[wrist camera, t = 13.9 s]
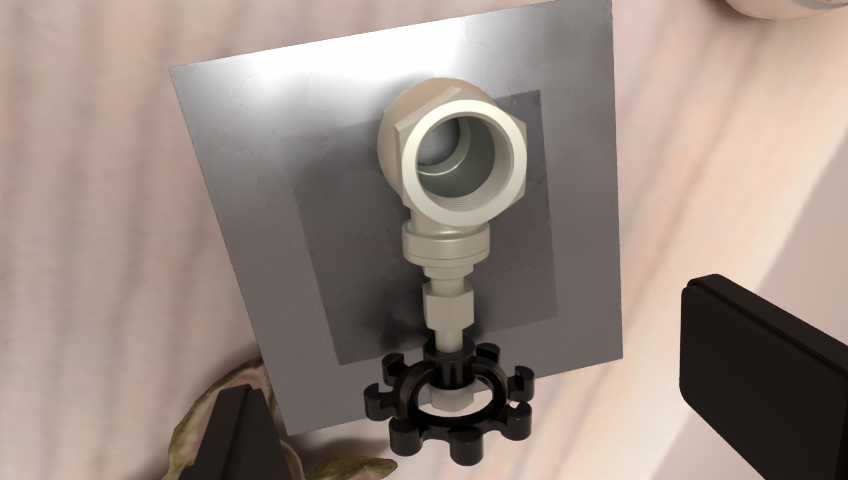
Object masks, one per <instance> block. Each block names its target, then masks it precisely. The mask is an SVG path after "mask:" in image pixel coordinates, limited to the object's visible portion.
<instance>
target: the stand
mask: <svg viewBox="0 0 848 480" xmlns="http://www.w3.org/2000/svg"><path fill="white" fill-rule="evenodd" d="M168 69H169V72H170V75H171V78H172V81H173V84H174V88H175V91H176V94H177V97H178V100H179V103H180V106H181V109H182V112H183V115H184V118H185V121H186V124H187V127H188V130H189V134H190V137H191V140H192V143H193V146H194V149H195V152H196V155H197V158H198V161H199V164H200V167H201V170H202V173H203V176H204V180H205V183H206V186H207V189H208V192H209V195H210V198H211V201H212V204H213V207H214V210H215V213H216V216H217V219H218V222H219V226H220V229H221V232H222V235H223V238H224V241H225V244H226V247H227V250H228V253H229V256H230V259H231V262H232V265H233V268H234V272H235V275H236V278H237V281H238V284H239V287H240V290H241V293H242V296H243V299H244V302H245V305H246V308H247V311H248V314H249V318H250V321H251V324H252V327H253V330H254V333H255V336H256V339H257V342H258V345H259V348H260V351H261V354H262V357H263V360H264V363H265V367H266V370H267V373H268V376H269V379H270V382H271V385H272V388H273V391H274V394H275V397H276V400H277V403H278V406H279V409H280V413H281V416H282V419H283V422H284V425H285V428H286V431H287V434H288V436H291V435H296V434H300V433H304V432H309V431H313V430H317V429H321V428H326V427H330V426H334V425H339V424H343V423H347V422H352V421H356V420H360V419H364V418H367V416H366V414H365V406H364V397H363V392H364V390H365V388H366V387H367V386H369V385H371V384H373V383H379V391H380V392H390V391H392V390H393V387H389V386H387V385H386V384H385V383H384V382H383V374H382V359H383V358H384V357H385V356H386V355H388V354H391V353H402V354H404V362H405V364H406V365H408V366H411V365H413V364H415V363H417V362H419V361H422V360H423V344H424V342H425V341H426V340H427V339H429V338H430V337H432V336H434V335H435V330H433V329H430V328H428V327H427V325H426V321H425V317H424V307H423V287H422V284H424V283H427V282H429V281H431V278H430V277H427V276H425V275H424V273H423V269H422V266H419V265H416V264H414V263H411V262H410V261H408V260H407V259H406V258H405V257H404V255H403V242H402V226H403V225H404V223H405V222H407V221H408V220H410V219H411V211H410V208H409V207H407V206H405V205H403V202H402V200H401V197H400V195H399V194H398V193H397V192H396V191H395V190H394V189H393V188H392V187H391V186H390V184H389V182H388V181H387V179H386V178H385V176H384V174H383V172H382V169H381V166H380V163H379V159H378V152H377V138H378V132H379V127H380V124H381V121H382V118H383V110H384V109H385V108H386V107H388V106H389V105H390V104H391V103H392V102H393V101H394V100H395V98H396V97H397V96H399V95H400V94H401V93H402V92H403V91H404V90H406V89H407V88H409V87H411V86H412V85H414V84H416V83H419V82H421V81H424V80H427V79H432V78H440V77H448V78H456V79H460V80H463V81H466V82H469V83H471V84H473V85H475V86H477V87H478V88H480V89H481V90H483V91H484V92H485V93H486V94H488V95H489V96H490V97H491V98H492V99H493V101H494V102H495V103H496V104H497V106H498V107H499V109H501V110H502V111H504V112H506V113H508V114H510V115H511V116H513V117H515V118H517V119H518V120H520V121H522V122H524V123H525V124H526V138H527V166H526V182H525V192H524V196H522V197H521V198H520V199H519V200H517V201H516V202H515V203H513V204H512V205H511V206H509V207H508V208H507V209H505V210H504V211H502V212H501V213H499V214H498V215H497V216H495V217H493V218H492V219H490V220H488V221H487V222H488V223H489V225H490V251H489V254H488V256H487V257H486V258H485V259H483V260H482V261H480V262H478V263H475V264H473V271H472V272H471V273H469V274H468V275H466V276H464V279H467V280H468V282H469V284H470V285H471V287H472V289H473V305H474V323H472V324H471V325H470V326H468V327H466V328H464V329H462V334H463V335H466V336H468V337H470V338H471V339H472V340H473V341H474V342H475V344H476V345H477V344H480V343H484V342H488V343H493V344H496V345H497V346H498V347H499V348H500V367H501V368H502V370H503V371H504V372H505V374H506V375H507V377H511V376H514V375H515V366H517V365H520V366H526V367H528V368H530V369H532V370H533V372H534V373H535V379H536V378H541V377H545V376H549V375H554V374H558V373H562V372H566V371H571V370H575V369H579V368H584V367H588V366H592V365H597V364H601V363H605V362H609V361H614V360H618V359H622V358H623V345H622V313H621V281H620V249H619V217H618V185H617V153H616V121H615V89H614V57H613V25H612V0H556V1H550V2H544V3H538V4H533V5H527V6H521V7H515V8H510V9H504V10H498V11H492V12H486V13H481V14H475V15H469V16H463V17H457V18H452V19H446V20H440V21H434V22H429V23H423V24H417V25H411V26H405V27H400V28H394V29H388V30H382V31H377V32H371V33H365V34H359V35H353V36H348V37H342V38H336V39H330V40H324V41H319V42H313V43H307V44H301V45H296V46H290V47H284V48H278V49H272V50H267V51H261V52H255V53H249V54H244V55H238V56H232V57H226V58H220V59H215V60H209V61H203V62H197V63H191V64H186V65H180V66H174V67H168ZM459 139H460V126H459V122H458V120H457V117H456V118H453V119H449V120H447V121H445V122H443V123H441V124H440V125H438V126H437V127H436V128H435V129H433V130H432V131H431V133H430V134H429V135H428V137H427V138H426V139H425V141H424V142H423V144H422V146H421V149H420V152H419V156H418V165H423V166H432V165H437V164H439V163H441V162H443V161H445V160H446V159H448V158H449V157H450V156H451V155H452V154H453V153H454V151H455V150H456V148H457V146H458V143H459ZM485 390H489V388H488V387H487V386H486V385H485V384H484V383H482V382H480V381H479V380H476V384H475V386H474V387H473V393H476V392H481V391H485ZM418 402H419V406H420V405H425V404H429V403H431V400H430V395H429V389H428V388H427V386H426V385H424V386H423V387H422V389H421V390H420V392H419V396H418Z"/></svg>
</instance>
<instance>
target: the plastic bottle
mask: <svg viewBox="0 0 848 480" xmlns="http://www.w3.org/2000/svg"><path fill="white" fill-rule="evenodd" d="M725 1H726V2H727V3H728V4H729V5H730V6H731V7H732V8H733V9H735V10H737V11H738V12H740V13H742V14H744V15H747V16H751V17H755V18H763V19H771V20H789V21H790V20H796V19H801V18H805V17H809V16H813V15H817V14H821V13H825V12H829V11H833V10H835V9H838V8H841V7H844V6H847V5H848V0H725Z"/></svg>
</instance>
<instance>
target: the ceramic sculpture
mask: <svg viewBox="0 0 848 480" xmlns="http://www.w3.org/2000/svg"><path fill="white" fill-rule="evenodd" d="M247 383H249V384H250V385H251V386H252V388H253V389H257V388H261V389H262V391H263V393H264V396H265V399H266V402H267V405H268V408H269V411H270V414H271V417H272V416H273V414H274V411H275V408H276V405H277V400H276V397H275V394H274V391H273V388H272V385H271V382H270V379H269V376H268V373H267V370H266V367H265V363H264V360H263V357H262V356H261V357H259V358H257V359H254V360H252V361H249V362H246V363H244V364H242V365H241V366H239V367H237V368H235V369H233V370H232V371H230V372H229V373H228V374H227V375H225V376H224V377H223V378H221V379H220V380H218V381H217V382H215V383H214V384H213V385H212V386H211V387H210V388H209V389H208V390H207V391H206V392H205V393H204V394H203V395H202V396H201V397H199V398H198V399H197V400H196V401H195V403H194V405H193V406H192V407H191V409H190V410H189V411H188V413H187V414H186V415H185V417H184V418H183V420H182V421H181V422H180V423H179V424H178V425H177V427H176V428H175V429H174V433H173V436H172V440H171V443H170V447H169V469H168V473H167V474H166V475H165V476H164V477H163V478H162V479H161V480H178V478H179V476H180V474H181V472H182V470H183V469H184V468H185V467H186V466H189V465H193V464H194V462H195V459H196V456H197V453H198V450H199V447H200V444H201V442H202V439H203V436H204V433H205V430H206V427H207V424H208V421H209V419H210V416H211V413H212V410H213V407H214V404H215V401H216V399H217V396H218V393H219V391H220V390H222V389H226V388H230V387H235V386H239V385H243V384H247ZM279 440H280V443H281V446H282V449H283V452H284V455H285V458H286V461H287V464H288V467H289V470H290V473H291V476H292V479H293V480H380V479H383V478H385V477H387V476H388V475H389V474H390V473H391V472H393V471H394V470H395V469H396V468H397V467H398V465H397V463H396V462H395V461H393V460H392V459H383V458H370V457H364V456H336V457H333V458H330V459H327V460H326V461H324V462H323V463H322V464H320V465H319V466H318V467H317V468H316V469H315V470H314V471H313V472H312V473H311V474H310V475H309V476H308V477H307V478H306V479H305V476H304V471H303V467H302V463H301V461H300V459H299V457H298V455H297V454H296V453H295V452H294V450H293V449H292V448H291V447H290V445H289V444H288V443H286V442H284V441H282V440H281V439H279Z"/></svg>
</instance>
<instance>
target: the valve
mask: <svg viewBox="0 0 848 480" xmlns="http://www.w3.org/2000/svg"><path fill="white" fill-rule="evenodd" d="M456 117H457V120H458V122H459V126H460V139H459V143H458V146H457V148H456V150H455V151H454V153H453V154H452V155H451V156H450V157H449V158H448V159H446V160H445V161H443V162H441V163H439V164H437V165H432V166H423V165H418V156H419V152H420V149H421V146H422V144H423V142H424V141H425V139H426V138H427V137H428V135H429V134H430V133H431V131H432V130H433V129H435V128H436V127H437V126H438V125H440V124H441V123H443V122H445V121H447V120H449V119H453V118H456ZM377 152H378V159H379V163H380V166H381V169H382V172H383V174H384V176H385V178H386V179H387V181H388V182H389V184H390V186H391V187H392V188H393V189H394V190H395V191H396V192H397V193H398V194H399V195H400V197H401V200H402V202H403V205H405V206H407V207H409V208H410V211H411V219H410V220H408V221H407V222H405V223H404V225H403V226H402V242H403V255H404V257H405V258H406V259H407V260H408V261H410V262H411V263H414V264H416V265H419V266H422V269H423V273H424V275H425V276H427V277H430V278H431V281H429V282H427V283H424V284H422V287H423V307H424V317H425V321H426V325H427V327H428V328H430V329H433V330H435V335H434V336H432V337H430V338H429V339H427V340H426V341H425V342H424V344H423V360H422V361H419V362H417V363H415V364H413V365H411V366H408V365H406V364H405V362H404V354H402V353H391V354H388V355H386V356H385V357H384V358H383V359H382V374H383V382H384V383H385V384H386V385H387V386H389V387H393V390H392V391H390V392H380V391H379V383H373V384H371V385H369V386H367V387H366V388H365V390H364V392H363V397H364V406H365V414H366V416H367V418H369V419H370V420H372V421H385V420H387V419H389V418H390V417H392V416H393V417H392V418H391V420H390V421H389V435H390V447H391V449H392V451H393V452H394V453H395V454H397V455H399V456H404V457H407V456H412V455H415V454H416V453H418V452H419V451H420V450H421V448H422V445H423V442H424V441H425V440H428V439H437V440H443V441H446V442H448V443H449V444H450V456H451V458H452V460H453V461H454V462H455V463H457V464H459V465H462V466H473V465H475V464H477V463H479V462H480V461H481V460H482V458H483V434H485V433H487V432H489V431H493V430H496V431H500V432H501V434H502V435H503V436H504V437H505V438H507V439H509V440H513V441H521V440H524V439H526V438H528V437H529V436H530V434H531V427H532V408H531V406H530V405H529V404H528V403H527V402H528V401H530V400H531V399H532V398H533V397H534V389H535V373H534V372H533V370H532V369H530V368H528V367H526V366H520V365H517V366H515V375H514V376H511V377H507V375H506V374H505V372H504V371H503V370H502V368H501V367H500V348H499V347H498V346H497V345H496V344H493V343H488V342H484V343H480V344H477V345H476V344H475V342H474V341H473V340H472V339H471V338H470V337H468V336H466V335H463V334H462V329H464V328H466V327H468V326H470V325H471V324H472V323H474V305H473V289H472V287H471V285H470V284H469V282H468V280H467V279H464V276H466V275H468V274H469V273H471V272H472V271H473V264H475V263H478V262H480V261H482V260H483V259H485V258H486V257H487V256H488V254H489V251H490V225H489V223H488V222H487V221H488V220H490V219H492V218H493V217H495V216H497V215H498V214H499V213H501V212H502V211H504V210H505V209H507V208H508V207H509V206H511V205H512V204H513V203H515V202H516V201H517V200H519V199H520V198H521V197H522V196H524V192H525V182H526V166H527V138H526V124H525V123H524V122H522V121H520V120H518V119H517V118H515V117H513V116H511V115H510V114H508V113H506V112H504V111H502V110H501V109H499V107H498V106H497V104H496V103H495V102H494V101H493V99H492V98H491V97H490V96H489V95H488V94H486V93H485V92H484V91H483V90H481V89H480V88H478V87H477V86H475V85H473V84H471V83H469V82H466V81H463V80H460V79H456V78H448V77H440V78H432V79H427V80H424V81H421V82H419V83H416V84H414V85H412V86H411V87H409V88H407V89H406V90H404V91H403V92H402V93H401V94H400V95H399V96H397V97H396V98H395V100H394V101H393V102H392V103H391V104H390V105H389V106H388V107H386V108H385V109H384V110H383V118H382V121H381V124H380V127H379V132H378V138H377ZM476 380H479V381H480V382H482V383H484V384H485V385H486V386H487V387H488V388H489V389H490V390H491V391H492V400H491V401H490V403H489V404H488V405H487V406H486V407H484V408H483V409H481V410H480V411H477V412H475V413H472V414H469V415H465V416H460V417H441V416H435V415H431V414H428V413H426V412H424V411H422V410H420V409H419V402H418V396H419V392H420V390H421V389H422V387H423V386H424V385H426V386H427V388H428V389H429V395H430V400H431V403H432V407H434V408H437V409H440V410H443V411H449V412H456V411H460V410H462V409H464V408H466V407H467V406H469V405H470V404H471V403H472V402H473V401H474V398H473V387H474V386H475V384H476ZM511 401H514V402H519V404H518V406H517V407H516V409H515V408H512V407H511V406H510V405H509V404H510V402H511ZM395 417H397V418H398V419H397V418H395Z"/></svg>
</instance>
